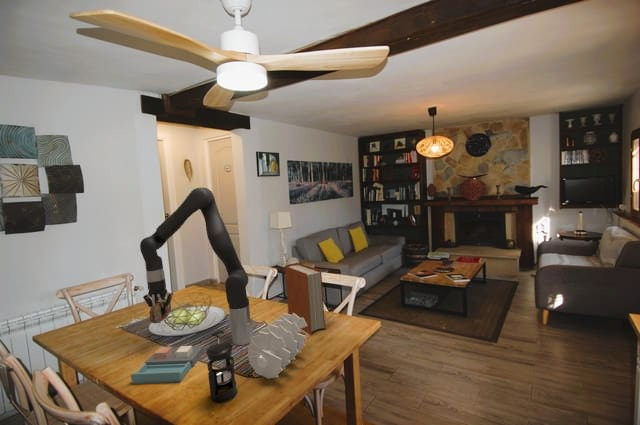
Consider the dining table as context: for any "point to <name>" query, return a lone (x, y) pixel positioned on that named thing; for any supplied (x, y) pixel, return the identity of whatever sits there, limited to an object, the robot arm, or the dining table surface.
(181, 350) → the cream tile
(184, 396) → the dining table surface
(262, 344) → the grey pine cone
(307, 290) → the book
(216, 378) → the french press
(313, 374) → the dining table surface
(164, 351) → the terracotta tile
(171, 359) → the grey stone slab
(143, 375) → the tray
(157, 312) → the tin
